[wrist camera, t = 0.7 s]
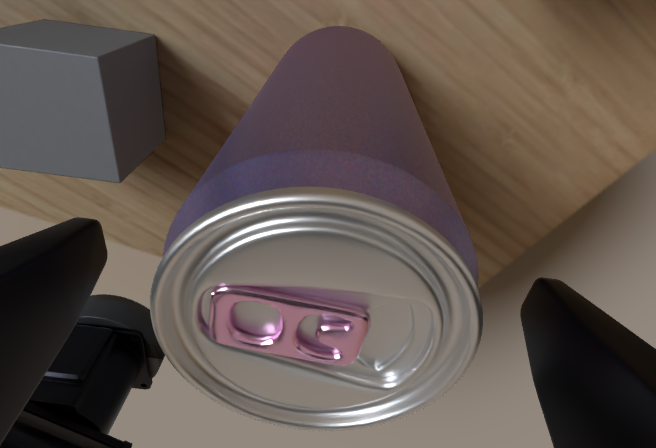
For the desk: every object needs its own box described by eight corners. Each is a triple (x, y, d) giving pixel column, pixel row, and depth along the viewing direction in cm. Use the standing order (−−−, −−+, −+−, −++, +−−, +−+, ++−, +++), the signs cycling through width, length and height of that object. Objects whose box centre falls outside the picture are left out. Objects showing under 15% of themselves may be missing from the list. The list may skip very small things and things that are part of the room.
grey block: (166, 139, 21) (120, 183, 17) (68, 126, 21) (-2, 168, 17) (155, 34, 18) (97, 57, 14) (43, 18, 18) (-48, 37, 14)
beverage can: (286, 8, 18) (125, 139, 5) (419, 41, 18) (572, 235, 6) (267, 137, 21) (141, 410, 8) (381, 162, 21) (423, 457, 9)
